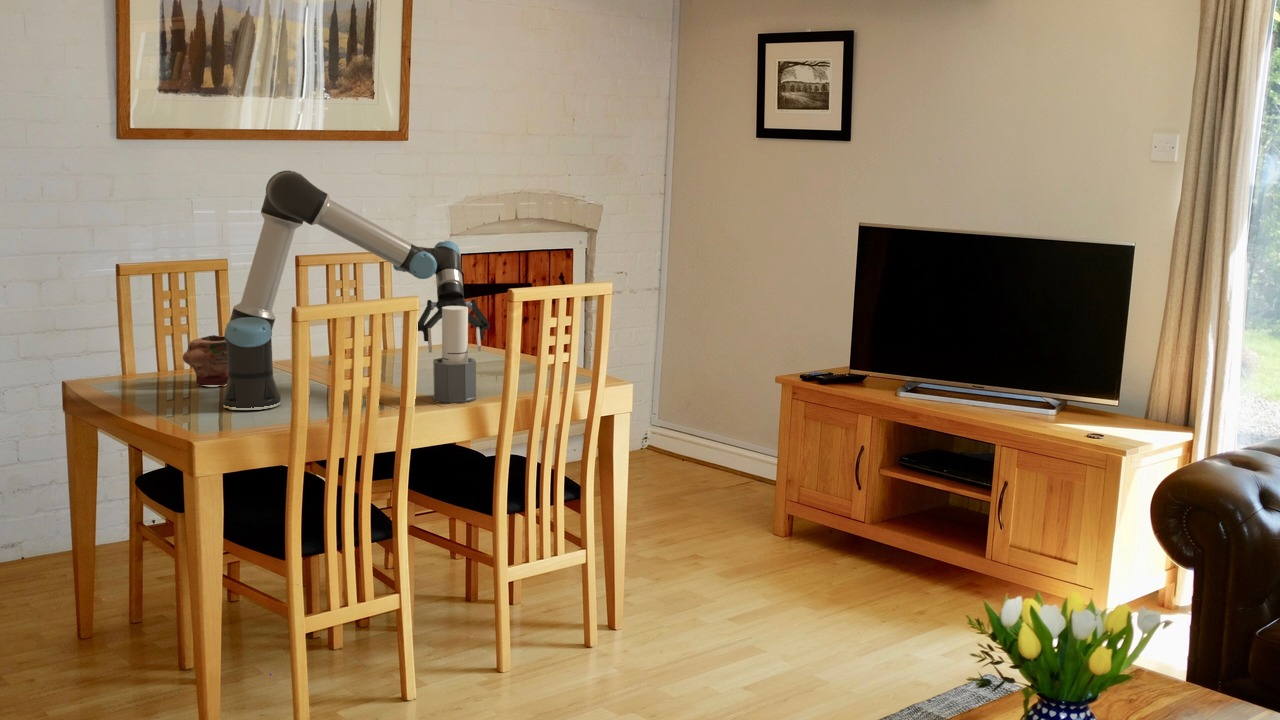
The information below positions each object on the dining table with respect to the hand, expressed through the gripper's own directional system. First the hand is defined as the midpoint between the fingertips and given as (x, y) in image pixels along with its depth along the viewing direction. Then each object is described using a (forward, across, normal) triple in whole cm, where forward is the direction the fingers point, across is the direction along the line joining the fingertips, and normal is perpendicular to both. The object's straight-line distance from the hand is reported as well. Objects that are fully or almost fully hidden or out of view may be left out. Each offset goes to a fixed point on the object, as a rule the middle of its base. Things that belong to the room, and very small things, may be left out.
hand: (455, 349), depth 344 cm
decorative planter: (-12, +66, -33) cm, 75 cm away
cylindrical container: (+8, 0, -12) cm, 14 cm away
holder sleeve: (+9, 0, -12) cm, 15 cm away
